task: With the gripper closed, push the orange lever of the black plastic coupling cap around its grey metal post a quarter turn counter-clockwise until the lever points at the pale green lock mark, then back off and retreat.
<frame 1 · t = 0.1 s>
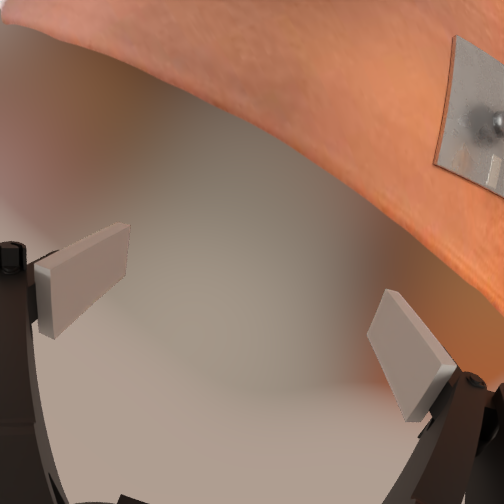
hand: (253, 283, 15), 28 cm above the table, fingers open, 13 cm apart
post plate: (498, 125, 35), on the table
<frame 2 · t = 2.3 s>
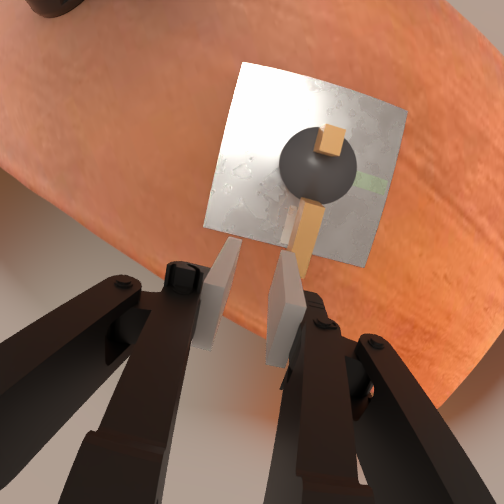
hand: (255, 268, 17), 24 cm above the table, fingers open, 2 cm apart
post plate: (307, 164, 39), on the table
coupling cap: (311, 196, 30), point 10 cm above the table, hinge at 0.0°
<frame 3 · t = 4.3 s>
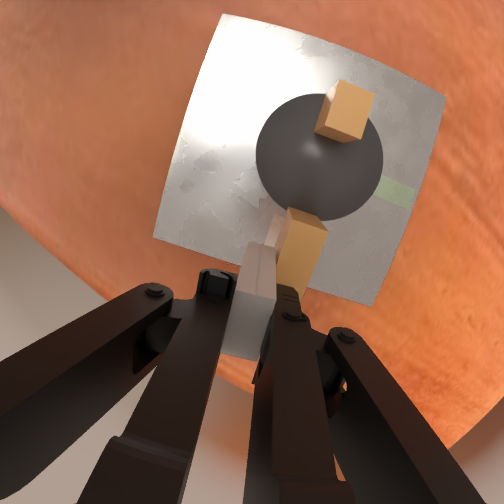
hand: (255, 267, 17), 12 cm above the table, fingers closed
post plate: (304, 157, 27), on the table
coupling cap: (304, 206, 18), point 10 cm above the table, hinge at 0.0°, touching gripper
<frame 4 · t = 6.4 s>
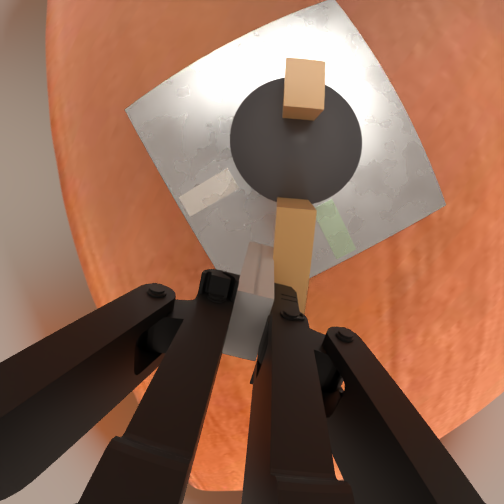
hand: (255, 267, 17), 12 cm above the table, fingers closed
post plate: (290, 147, 27), on the table
coupling cap: (293, 193, 18), point 10 cm above the table, hinge at 57.3°, touching gripper
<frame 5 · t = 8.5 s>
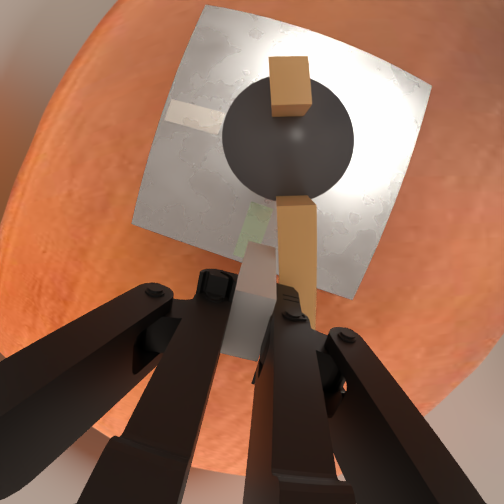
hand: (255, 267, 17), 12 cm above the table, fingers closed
post plate: (283, 145, 27), on the table
coupling cap: (291, 190, 18), point 10 cm above the table, hinge at 111.9°
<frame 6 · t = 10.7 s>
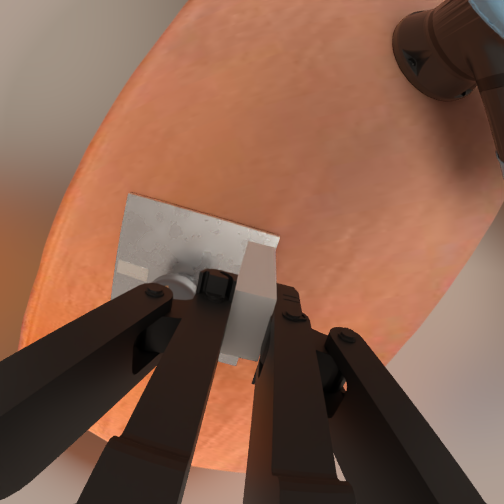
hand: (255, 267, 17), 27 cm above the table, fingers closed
post plate: (184, 283, 46), on the table
coupling cap: (171, 336, 38), point 10 cm above the table, hinge at 112.0°
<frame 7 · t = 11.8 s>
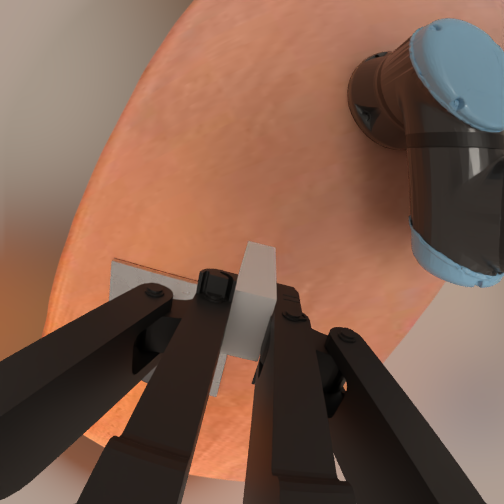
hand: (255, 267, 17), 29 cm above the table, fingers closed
post plate: (167, 332, 53), on the table
coupling cap: (154, 381, 44), point 10 cm above the table, hinge at 112.0°
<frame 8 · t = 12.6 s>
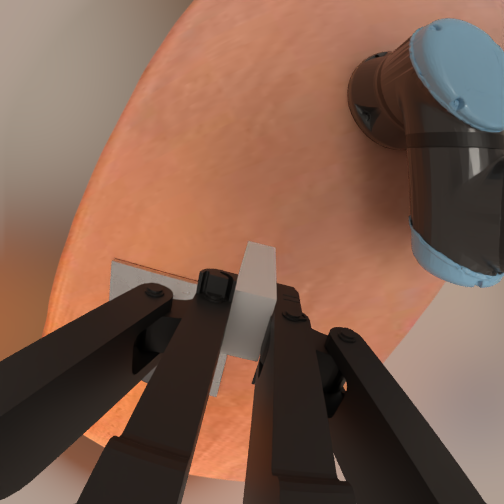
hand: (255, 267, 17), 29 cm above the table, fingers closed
post plate: (167, 332, 53), on the table
coupling cap: (154, 381, 44), point 10 cm above the table, hinge at 112.0°
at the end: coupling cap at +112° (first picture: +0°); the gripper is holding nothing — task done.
